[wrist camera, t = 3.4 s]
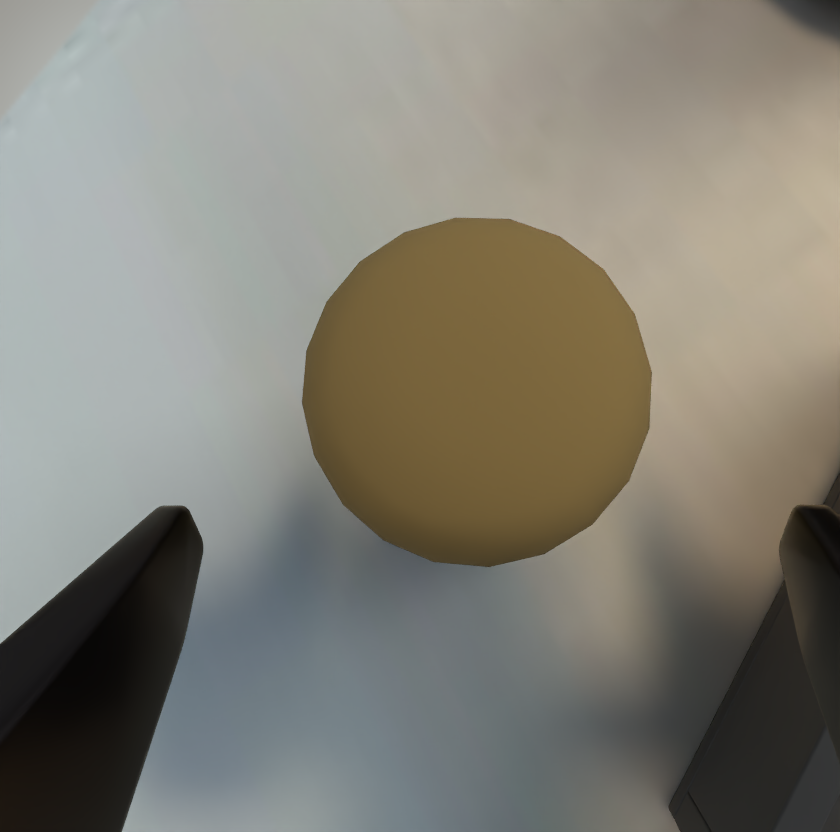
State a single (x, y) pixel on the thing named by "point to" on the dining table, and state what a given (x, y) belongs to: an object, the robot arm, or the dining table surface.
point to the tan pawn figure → (477, 391)
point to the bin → (765, 743)
